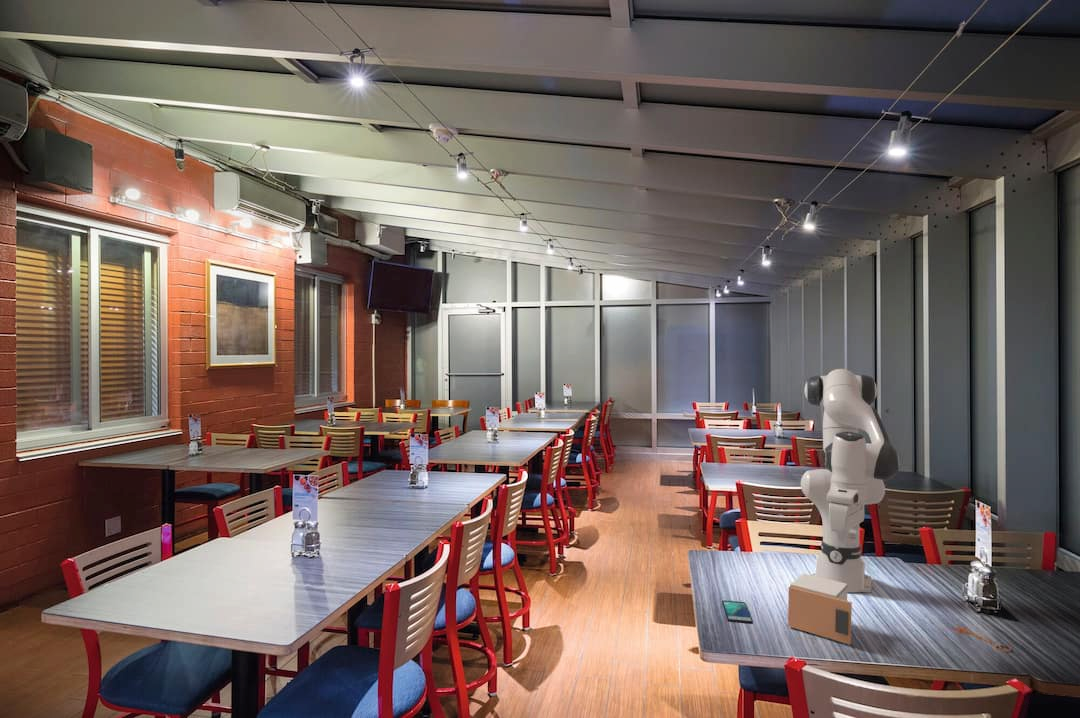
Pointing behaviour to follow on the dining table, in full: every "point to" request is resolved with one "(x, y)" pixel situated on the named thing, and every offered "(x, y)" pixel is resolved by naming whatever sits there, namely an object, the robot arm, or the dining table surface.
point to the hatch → (820, 614)
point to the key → (965, 631)
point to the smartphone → (737, 612)
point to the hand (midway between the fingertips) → (847, 543)
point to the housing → (821, 586)
